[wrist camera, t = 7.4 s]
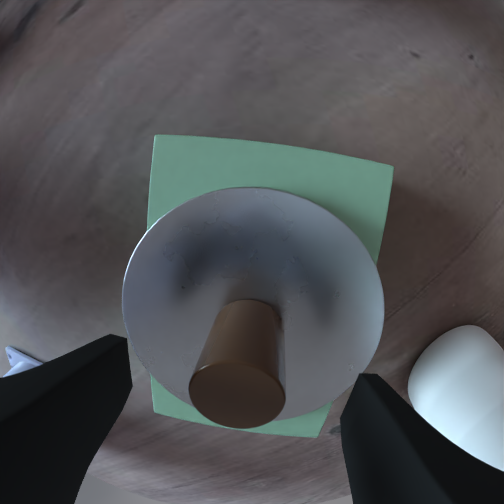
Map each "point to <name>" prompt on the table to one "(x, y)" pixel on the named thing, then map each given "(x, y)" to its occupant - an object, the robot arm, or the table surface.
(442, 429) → the water bottle
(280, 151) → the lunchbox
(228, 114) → the table surface
